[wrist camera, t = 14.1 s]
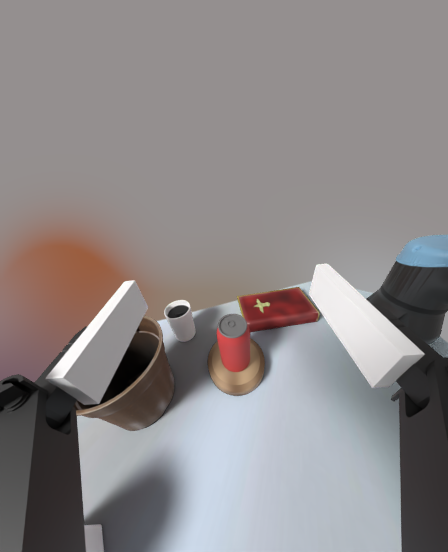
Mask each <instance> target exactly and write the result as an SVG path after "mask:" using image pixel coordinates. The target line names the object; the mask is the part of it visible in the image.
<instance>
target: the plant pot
mask: <svg viewBox="0 0 448 552" xmlns="http://www.w3.org/2000/svg"><path fill="white" fill-rule="evenodd" d="M174 387H175V381H174V376H173V374H172V371H171V368H170V365H169V363H168V360H167V357H166V354H165V348H164V343H163V334H162V330H161V327H160V325H159V324H158V322H157V321H156V320H154V319H153V318H151V317H148V316H143V318H142V320H141V322H140V324H139V326H138V328H137V330H136V332H135V334H134V336H133V338H132V340H131V342H130V344H129V346H128V348H127V350H126V352H125V354H124V356H123V358H122V360H121V362H120V364H119V366H118V368H117V370H116V372H115V374H114V376H113V378H112V380H111V381H110V383H109V385H108V387H107V389H106V391H105V393H104V395H103V397H102V399H101V401H100V403H99V404H89V405H84V404H82V403H81V402H79V401H78V400H77V401H76V403H75V404H74V406H73V407H75V409H76V415H77V416H80V415H82V416H85V417H90V418H100V419H102V420H105V421H107V422H109V423H112V424H114V425H117V426H119V427H121V428H124V429H126V430H130V431H135V430H140V429H143V428H146V427H148V426H149V425H151V424H153V423H154V422H155V421H156V420H157V419H159V418H160V417H161V416H162V414H163V413H164V411H165V409H166V408H167V406H168V405H169V403H170V402H171V400H172V397H173V394H174Z"/></svg>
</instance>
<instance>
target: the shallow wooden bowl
mask: <svg viewBox="0 0 448 552" xmlns="http://www.w3.org/2000/svg"><path fill="white" fill-rule="evenodd" d="M264 366H265V360H264V355H263V352H262V350H261V348H260V346H259V345H258V344H257V343H256V342H255V341H254V340H253V339H251V338H250V362H249V365H248V366H247V368H245V369H244V370H243V371H240V372H232V371H229V370H228V369H226V368H225V367H224V365H223V364H222V360H221V355H220V350H219V345H218V341H217V342H216V343H215V344H214V345H213V347H212V348H211V350H210V353H209V356H208V369H209V372H210V376H211V378H212V381H213V382H214V384H215V385H216V386H217V387H218V388H219V389H220V390H221V391H222V392H224V393H226V394H229V395H233V396H241V395H245V394H248V393H250V392H252V391H253V390H254V389H256V388H257V386H258V385H259V384H260V382H261V380H262V378H263V374H264Z"/></svg>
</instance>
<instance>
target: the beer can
mask: <svg viewBox="0 0 448 552" xmlns="http://www.w3.org/2000/svg"><path fill="white" fill-rule="evenodd" d="M217 340H218V345H219V350H220V355H221V360H222V364H223V365H224V367H225V368H226V369H228V370H229V371H232V372H240V371H243V370H244V369H245V368H247V366H248V365H249V362H250V329H249V327H248V325H247V322H246V320H245V319H244V318H243V317H242V316H240V315H238V314H228V315H225V316H224V317H222V318H221V319H220V321H219V323H218V328H217Z"/></svg>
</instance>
